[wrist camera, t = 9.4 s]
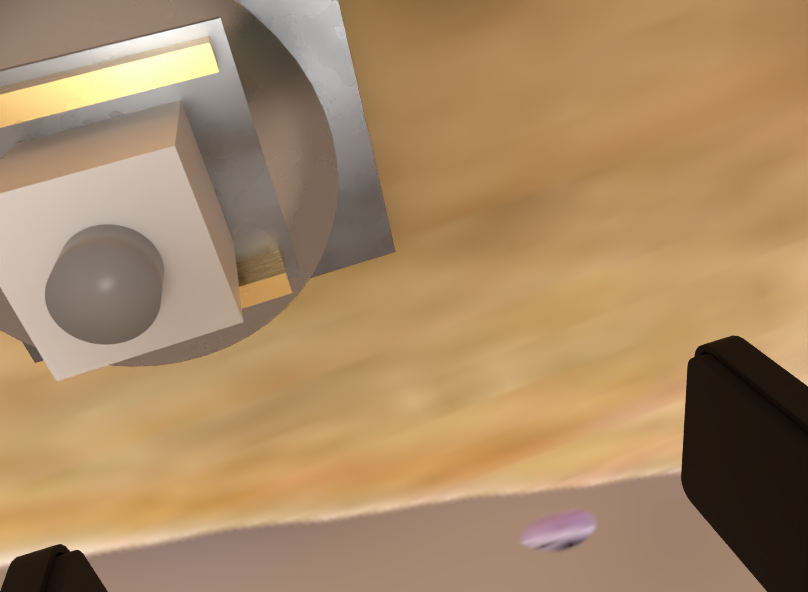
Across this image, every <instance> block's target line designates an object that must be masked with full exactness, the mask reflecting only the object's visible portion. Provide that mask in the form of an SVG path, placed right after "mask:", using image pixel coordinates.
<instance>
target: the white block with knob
mask: <svg viewBox="0 0 808 592" xmlns="http://www.w3.org/2000/svg"><path fill="white" fill-rule="evenodd" d="M0 288H1V289H2V291H3V293H4V294H5V296H6V298H7V299H8V301H9V303H10V304H11V306H12V308H13V310H14V311H15V313H16V315H17V316H18V318H19V320H20V321H21V323H22V325H23V326H24V328H25V330H26V331H27V333H28V335H29V336H30V338H31V340H32V341H33V343H34V345H35V346H36V348H37V350H38V351H39V353H40V355H41V356H42V358H43V360H44V361H45V363H46V365H47V367H48V368H49V370H50V372H51V373H52V375H53V377H54V378H55V380H56V382H57V381H60V380H63V379H66V378H69V377H73V376H76V375H79V374H82V373H85V372H88V371H91V370H95V369H98V368H101V367H104V366H107V365H110V364H113V363H117V362H120V361H123V360H126V359H129V358H132V357H135V356H139V355H142V354H145V353H148V352H151V351H154V350H157V349H161V348H164V347H167V346H170V345H173V344H176V343H179V342H183V341H186V340H189V339H192V338H195V337H198V336H201V335H205V334H208V333H211V332H214V331H217V330H220V329H223V328H227V327H230V326H233V325H236V324H239V323H242V322H243V314H242V306H241V298H240V290H239V282H238V274H237V266H236V258H235V250H234V242H233V239H232V236H231V234H230V231H229V228H228V226H227V223H226V220H225V218H224V215H223V212H222V209H221V207H220V204H219V201H218V199H217V196H216V193H215V191H214V188H213V185H212V183H211V180H210V177H209V174H208V172H207V169H206V166H205V164H204V161H203V158H202V156H201V153H200V150H199V148H198V145H197V142H196V139H195V137H194V134H193V131H192V129H191V126H190V123H189V121H188V118H187V115H186V112H185V110H184V107H183V104H182V102H181V100H178V101H175V102H171V103H167V104H163V105H160V106H156V107H152V108H148V109H144V110H141V111H137V112H133V113H129V114H125V115H122V116H118V117H114V118H110V119H107V120H103V121H99V122H95V123H91V124H88V125H84V126H80V127H76V128H72V129H69V130H65V131H61V132H57V133H54V134H50V135H46V136H42V137H38V138H35V139H31V140H27V141H23V142H19V143H17V144H16V145H15V146H14V147H13V148H11V149H10V150H9V151H8V152H7V153H6V154H5V155H4V156H3V157H2V158H1V159H0Z"/></svg>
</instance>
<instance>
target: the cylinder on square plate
mask: <svg viewBox="0 0 808 592" xmlns="http://www.w3.org/2000/svg"><path fill="white" fill-rule="evenodd" d="M178 100H181V102H182V104H183V107H184V110H185V112H186V115H187V118H188V121H189V123H190V126H191V129H192V131H193V134H194V137H195V139H196V142H197V145H198V148H199V150H200V153H201V156H202V158H203V161H204V164H205V166H206V169H207V172H208V174H209V177H210V180H211V183H212V185H213V188H214V191H215V193H216V196H217V199H218V201H219V204H220V207H221V209H222V212H223V215H224V218H225V220H226V223H227V226H228V228H229V231H230V234H231V236H232V239H233V242H234V250H235V258H236V266H237V274H238V282H239V290H240V298H241V306H242V314H243V322H242V323H239V324H236V325H233V326H230V327H227V328H223V329H220V330H217V331H214V332H211V333H208V334H205V335H201V336H198V337H195V338H192V339H189V340H186V341H183V342H179V343H176V344H173V345H170V346H167V347H164V348H161V349H157V350H154V351H151V352H148V353H145V354H142V355H139V356H135V357H132V358H129V359H126V360H123V361H120V362H117V363H113V364H110V365H113V366H129V367H134V366H157V365H164V364H170V363H177V362H183V361H187V360H191V359H194V358H198V357H202V356H206V355H208V354H211V353H214V352H216V351H219V350H221V349H224V348H227V347H229V346H231V345H233V344H235V343H237V342H239V341H241V340H242V339H244V338H246V337H248V336H250V335H251V334H253V333H254V332H256V331H257V330H259V329H260V328H262V327H263V326H265V325H266V324H268V323H269V322H270V321H271V320H272V319H273V318H275V317H276V316H277V315H278V314H279V313H280V312H282V311H283V310H284V309H285V308H286V307H287V306H288V305H289V304H290V302H291V301H292V300H293V299H294V298H295V297H296V296H297V295H298V294H299V292H300V291H301V290H302V288H303V287H304V285H305V284H306V283H307V281H308V280H309V278H312V277H315V276H318V275H321V274H325V273H328V272H331V271H334V270H338V269H341V268H344V267H347V266H351V265H354V264H357V263H360V262H364V261H367V260H370V259H373V258H377V257H380V256H383V255H386V254H390V253H393V252H395V248H394V243H393V239H392V235H391V230H390V226H389V221H388V217H387V213H386V208H385V204H384V199H383V195H382V191H381V186H380V182H379V178H378V173H377V169H376V164H375V160H374V156H373V151H372V147H371V143H370V138H369V134H368V129H367V125H366V121H365V116H364V112H363V108H362V103H361V99H360V94H359V90H358V86H357V81H356V77H355V72H354V68H353V64H352V59H351V55H350V51H349V46H348V42H347V37H346V33H345V29H344V24H343V20H342V16H341V11H340V7H339V2H338V0H0V159H1V158H2V157H3V156H4V155H5V154H6V153H7V152H8V151H9V150H10V149H11V148H13V147H14V146H15V145H16V144H17V143H19V142H23V141H27V140H31V139H35V138H38V137H42V136H46V135H50V134H54V133H57V132H61V131H65V130H69V129H72V128H76V127H80V126H84V125H88V124H91V123H95V122H99V121H103V120H107V119H110V118H114V117H118V116H122V115H125V114H129V113H133V112H137V111H141V110H144V109H148V108H152V107H156V106H160V105H163V104H167V103H171V102H175V101H178ZM0 330H1V331H3V332H5V333H7V334H8V335H10V336H12V337H14V338H16V339H18V340H20V341H22V342H23V344H24V345H25V347H26V349H27V350H28V352H29V354H30V355H31V357H32V359H33V360H34V362H35V363H36V362H40V361H43V358H42V356H41V355H40V353H39V351H38V350H37V348H36V346H35V345H34V343H33V341H32V340H31V338H30V336H29V335H28V333H27V331H26V330H25V328H24V326H23V325H22V323H21V321H20V320H19V318H18V316H17V315H16V313H15V311H14V310H13V308H12V306H11V304H10V303H9V301H8V299H7V298H6V296H5V294H4V293H3V291H2V289H1V288H0Z"/></svg>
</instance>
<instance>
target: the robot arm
mask: <svg viewBox="0 0 808 592" xmlns="http://www.w3.org/2000/svg"><path fill="white" fill-rule="evenodd" d="M681 481H682V486H683V489H684V491H685V493H686V495H687V497H688V499H689V500H690V501H691V503H692V504H693V505H694V506H695V507H696V509H697V510H698V511H699V512H700V513H701V514H702V516H703V517H704V518H705V519H706V520H707V521H708V523H709V524H710V525H711V526H712V527H713V529H714V530H715V531H716V532H717V533H718V534H719V535H720V537H721V538H722V539H723V540H724V541H725V543H726V544H727V545H728V546H729V547H730V548H731V550H732V551H733V552H734V553H735V554H736V555H737V556H738V558H739V559H740V560H741V561H742V563H743V564H744V565H745V566H746V567H747V568H748V570H749V571H750V572H751V573H752V574H753V575H754V577H755V578H756V579H757V580H758V581H759V583H760V584H761V585H762V586H763V587H764V588H765V590H766V591H767V592H808V386H806V385H805V384H804V383H802V382H801V381H800V380H798V379H797V378H796V377H794V376H793V375H792V374H790V373H789V372H788V371H786V370H785V369H784V368H782V367H781V366H780V365H778V364H777V363H775V362H774V361H773V360H771V359H770V358H769V357H767V356H766V355H765V354H763V353H762V352H761V351H759V350H758V349H757V348H755V347H754V346H753V345H751V344H750V343H749V342H747V341H746V340H744V339H743V338H741V337H739V336H730V337H726V338H723V339H720V340H717V341H714V342H710V343H707V344H704V345H701V346H699V347H698V348H697V349H696V352H695V356H694V358H691V359H690V360H689V362H688V368H687V385H686V403H685V420H684V438H683V455H682V472H681ZM0 592H107V590H106V588H105V587H104V585H103V584H102V582H101V580H100V579H99V578H98V576H97V574H96V573H95V571H94V570H93V568H92V567H91V565H90V563H89V562H88V560H87V559H86V557H85V556H84V554H83V553H82V552H81V551H79V550H75V551H71V552H70V551H69V550H68V549H67V547H66V546H64V545H62V544H59V545H55V546H51V547H48V548H45V549H42V550H38V551H35V552H32V553H29V554H26V555H22V556H19V557H16V558H15V559H14V560H13V561H12V562H11V564H10V566H9V568H8V571H7V574H6V577H5V580H4V582H3V585H2V588H1V591H0Z"/></svg>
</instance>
